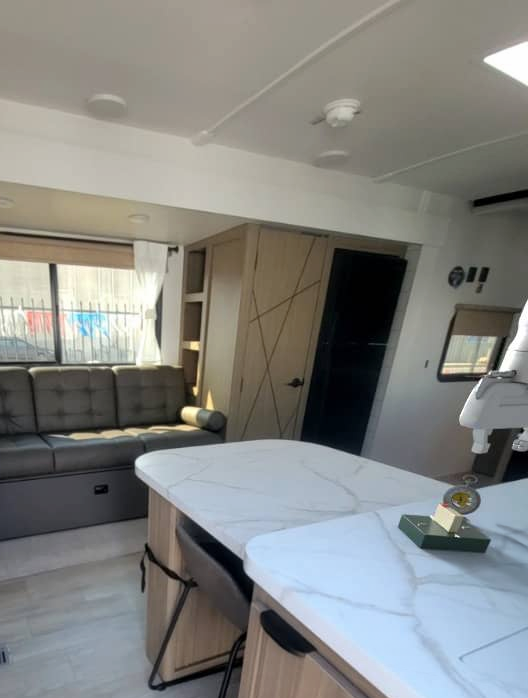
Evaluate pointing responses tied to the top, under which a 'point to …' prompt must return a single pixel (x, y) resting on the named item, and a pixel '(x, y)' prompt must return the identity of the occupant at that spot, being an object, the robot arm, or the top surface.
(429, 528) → the dark green flat block
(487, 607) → the top surface
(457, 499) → the pocket watch
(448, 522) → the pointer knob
